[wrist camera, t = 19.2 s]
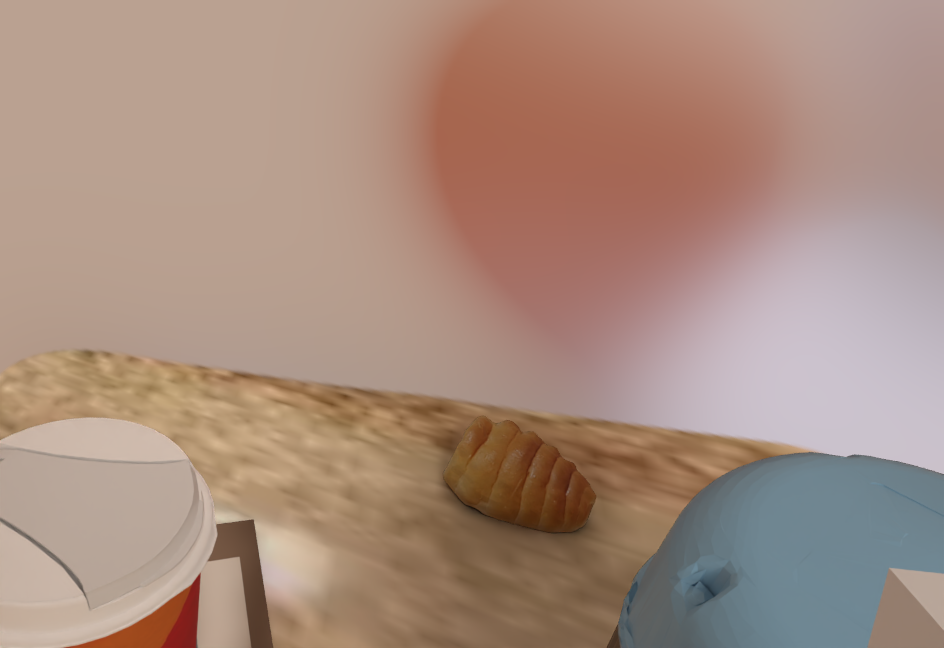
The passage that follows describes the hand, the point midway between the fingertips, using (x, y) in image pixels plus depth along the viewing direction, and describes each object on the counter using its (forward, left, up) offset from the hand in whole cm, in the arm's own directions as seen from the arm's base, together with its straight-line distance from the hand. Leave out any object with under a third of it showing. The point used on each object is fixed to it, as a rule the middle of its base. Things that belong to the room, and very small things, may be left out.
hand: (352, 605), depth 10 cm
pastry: (-18, -24, -27) cm, 41 cm away
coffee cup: (+5, -12, -26) cm, 29 cm away
